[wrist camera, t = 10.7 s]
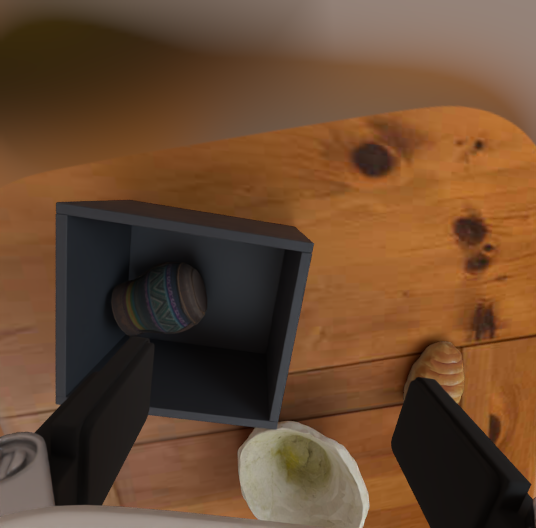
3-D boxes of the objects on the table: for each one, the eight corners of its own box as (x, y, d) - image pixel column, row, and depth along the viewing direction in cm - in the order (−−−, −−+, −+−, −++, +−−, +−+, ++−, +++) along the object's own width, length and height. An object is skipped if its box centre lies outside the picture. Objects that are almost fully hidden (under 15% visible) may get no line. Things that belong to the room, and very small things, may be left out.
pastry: (414, 335, 37) (432, 351, 33) (465, 340, 37) (488, 356, 33) (397, 399, 39) (412, 421, 35) (446, 404, 39) (465, 426, 35)
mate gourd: (196, 320, 25) (85, 349, 25) (217, 328, 33) (131, 351, 33) (183, 245, 28) (81, 273, 28) (206, 268, 35) (125, 290, 35)
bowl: (263, 376, 37) (265, 440, 28) (361, 409, 39) (395, 480, 29) (223, 465, 40) (212, 551, 31) (315, 493, 42) (332, 583, 32)
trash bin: (128, 199, 32) (55, 201, 20) (295, 226, 33) (314, 243, 22) (121, 337, 36) (55, 404, 24) (271, 356, 37) (276, 430, 25)
